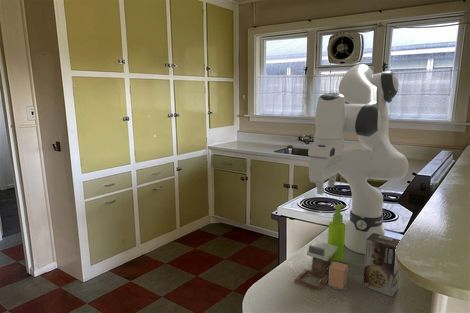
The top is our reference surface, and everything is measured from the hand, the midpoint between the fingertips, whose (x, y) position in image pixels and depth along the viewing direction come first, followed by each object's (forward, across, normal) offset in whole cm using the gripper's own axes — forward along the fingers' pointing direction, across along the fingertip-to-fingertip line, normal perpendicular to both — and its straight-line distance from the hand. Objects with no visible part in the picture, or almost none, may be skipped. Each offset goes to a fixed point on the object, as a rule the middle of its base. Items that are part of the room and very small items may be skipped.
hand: (326, 190), depth 106 cm
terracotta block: (+29, +2, +6) cm, 30 cm away
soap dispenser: (+30, -16, 0) cm, 34 cm away
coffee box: (+30, -4, +18) cm, 35 cm away
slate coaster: (+30, +2, +6) cm, 31 cm away
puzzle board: (+30, 0, -2) cm, 30 cm away
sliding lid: (+24, -4, -2) cm, 24 cm away
